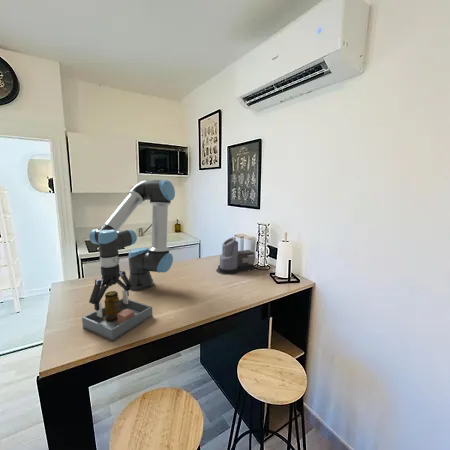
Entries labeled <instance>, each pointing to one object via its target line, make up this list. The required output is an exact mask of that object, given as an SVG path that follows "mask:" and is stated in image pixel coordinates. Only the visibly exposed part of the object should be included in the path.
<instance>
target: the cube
mask: <svg viewBox="0 0 450 450" xmlns="http://www.w3.org/2000/svg"><path fill="white" fill-rule="evenodd" d="M133 316H134V311H132V310H129V309H125V310H123V311H121V312H119V313H117V319H118V324H121V323H123V322H125V321H126V320H128V319H130V318H132V317H133Z"/></svg>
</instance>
